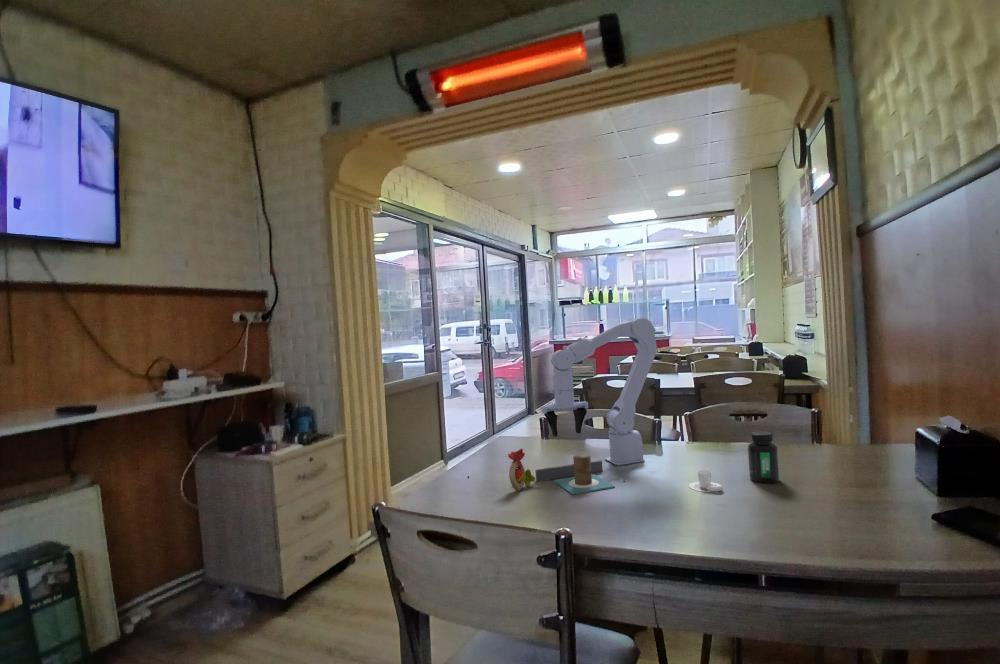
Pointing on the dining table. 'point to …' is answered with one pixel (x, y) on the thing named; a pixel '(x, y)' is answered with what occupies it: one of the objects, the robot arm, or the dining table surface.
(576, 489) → the mat
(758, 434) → the supplement bottle
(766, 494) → the dining table surface
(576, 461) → the walnut cylinder
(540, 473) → the low wall
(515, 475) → the bird rattle
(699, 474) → the teacup and saucer
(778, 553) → the dining table surface
